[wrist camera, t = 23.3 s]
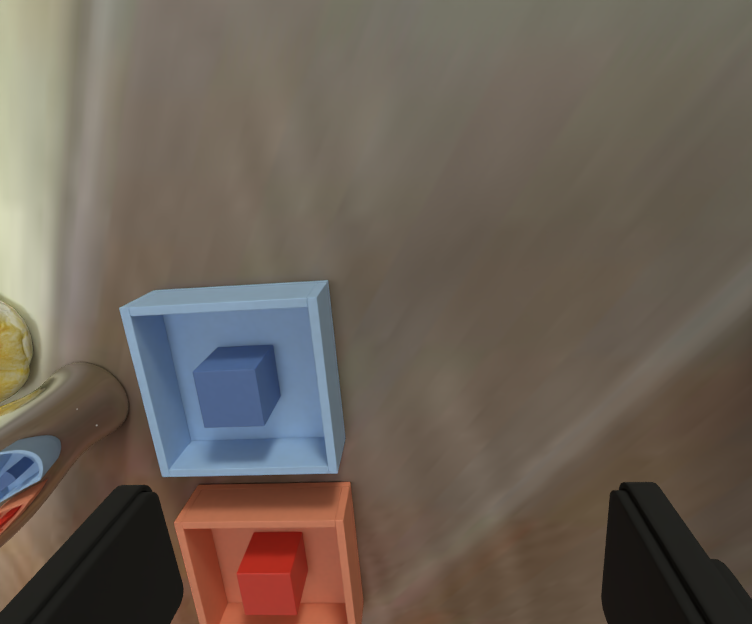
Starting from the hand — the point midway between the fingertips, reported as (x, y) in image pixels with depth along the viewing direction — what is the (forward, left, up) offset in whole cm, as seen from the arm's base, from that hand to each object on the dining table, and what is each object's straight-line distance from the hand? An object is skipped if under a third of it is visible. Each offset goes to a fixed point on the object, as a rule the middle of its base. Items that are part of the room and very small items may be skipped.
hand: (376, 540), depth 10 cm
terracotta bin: (+11, +22, -22) cm, 33 cm away
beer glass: (+24, +8, -23) cm, 34 cm away
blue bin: (+11, +6, -22) cm, 25 cm away
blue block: (+11, +6, -22) cm, 25 cm away
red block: (+11, +22, -22) cm, 33 cm away
